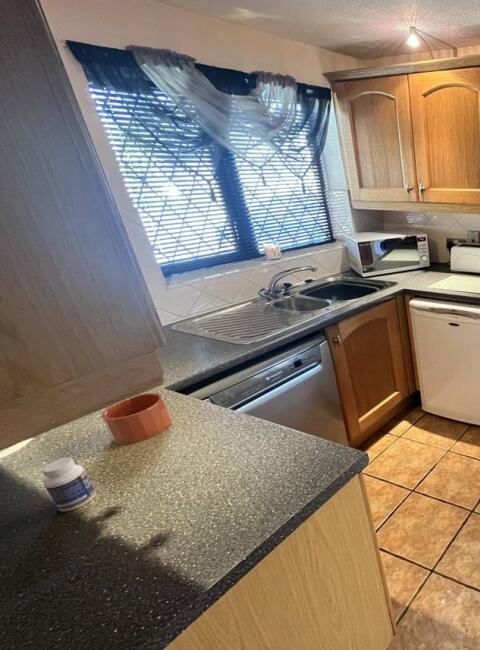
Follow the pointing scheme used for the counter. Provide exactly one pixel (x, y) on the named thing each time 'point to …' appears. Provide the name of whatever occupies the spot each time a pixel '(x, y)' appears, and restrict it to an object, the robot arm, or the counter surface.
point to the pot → (137, 418)
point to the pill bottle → (67, 484)
